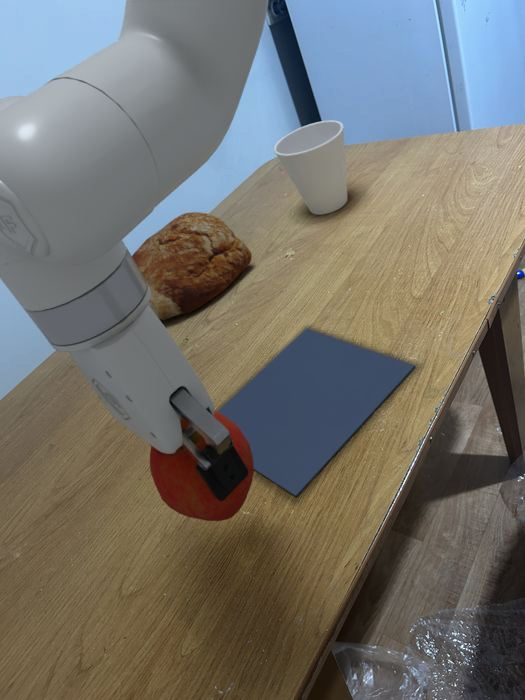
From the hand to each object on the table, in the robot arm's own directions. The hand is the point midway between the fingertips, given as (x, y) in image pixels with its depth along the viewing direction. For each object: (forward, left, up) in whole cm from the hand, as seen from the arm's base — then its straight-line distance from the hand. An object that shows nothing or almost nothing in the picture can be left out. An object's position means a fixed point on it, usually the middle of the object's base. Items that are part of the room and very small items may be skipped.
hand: (200, 463), depth 48 cm
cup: (+37, -54, -12) cm, 66 cm away
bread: (+46, -26, -12) cm, 54 cm away
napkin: (+8, -16, -11) cm, 21 cm away
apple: (0, 0, -7) cm, 7 cm away
